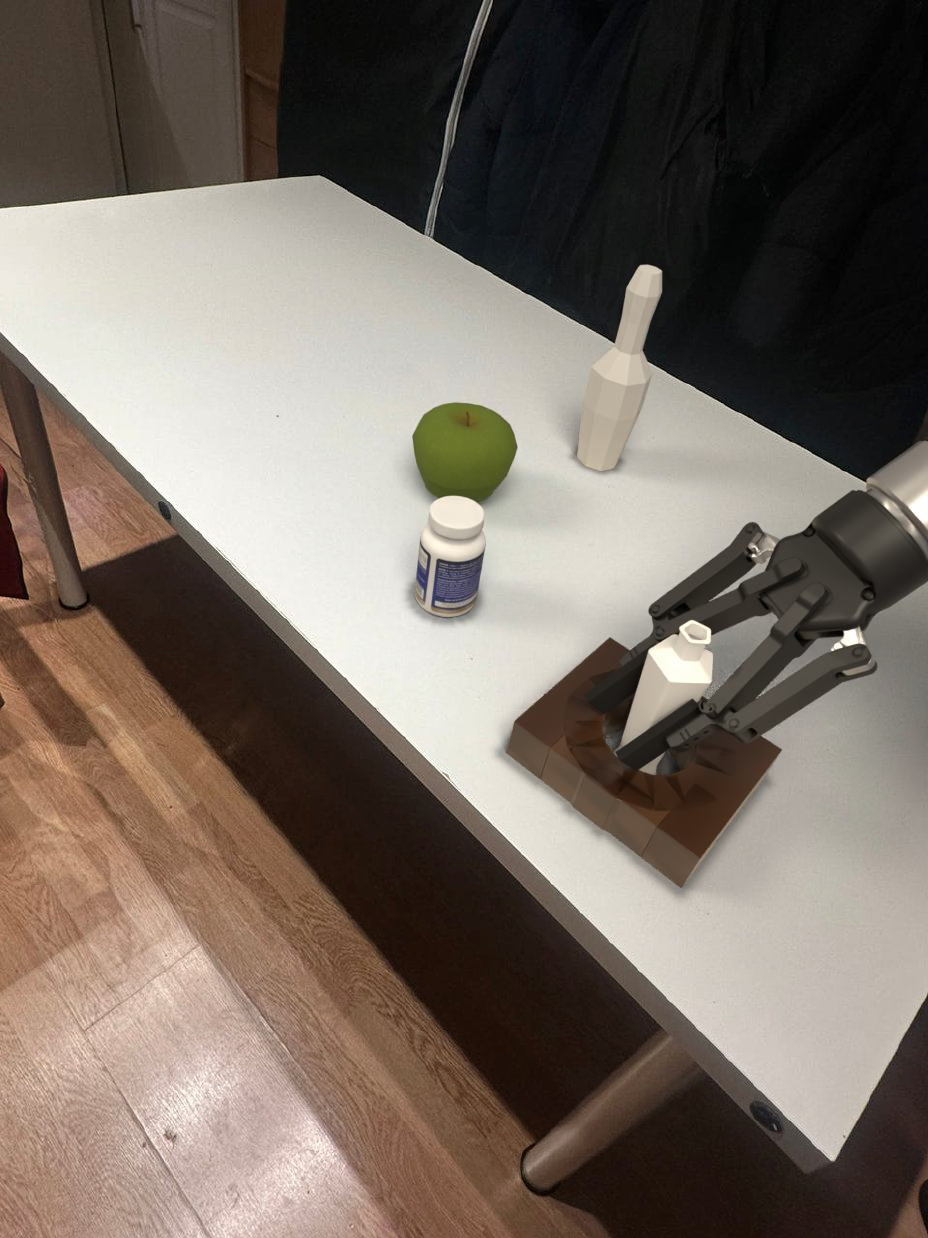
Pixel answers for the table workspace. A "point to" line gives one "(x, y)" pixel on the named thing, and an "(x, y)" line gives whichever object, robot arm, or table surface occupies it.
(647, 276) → the faceted bottle
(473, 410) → the apple
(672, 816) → the hole plate
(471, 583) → the pill bottle
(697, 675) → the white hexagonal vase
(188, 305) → the table surface
